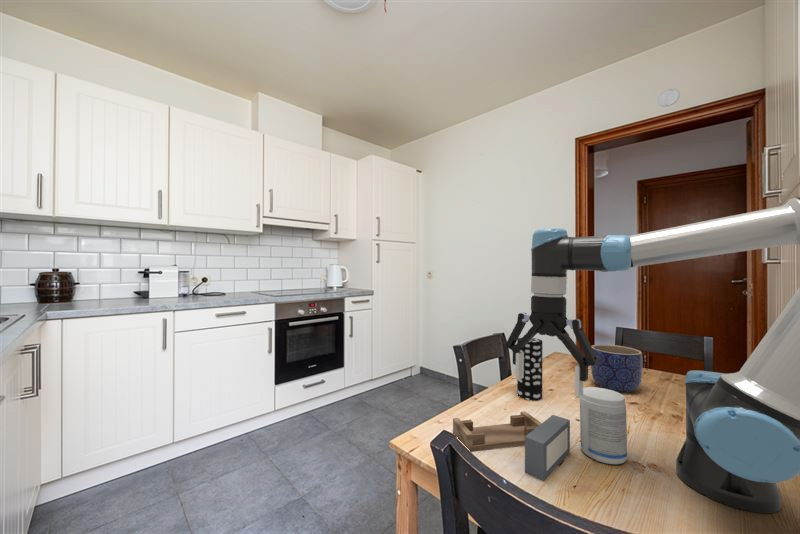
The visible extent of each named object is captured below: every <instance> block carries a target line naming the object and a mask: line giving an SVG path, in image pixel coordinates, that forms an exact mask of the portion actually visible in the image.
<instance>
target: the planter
mask: <svg viewBox="0 0 800 534" xmlns="http://www.w3.org/2000/svg"><path fill="white" fill-rule="evenodd" d="M591 347H592V349H593V351H594V353H595V355H596V357H597V359H598V363H597V364H595V365H593V366H590V373H591V376H592V377H591V378H592V379H593V381H594V382H595V383H596V384H597V385H598V386H599V387H600V388H604V389H608V390H612V391H615V392H618V393H625V394H626V393H633V392H635V391H636V390H638V389H639V388H640V387H641V385H642V381H643V352H642V351H641V350H639V349H637V348H634V347H633V348H632V347H630V346H629V347H628V346H624V345H617V344H615V345H614V344H593V345H592V344H591Z"/></svg>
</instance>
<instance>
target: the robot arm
mask: <svg viewBox="0 0 800 534" xmlns="http://www.w3.org/2000/svg"><path fill="white" fill-rule="evenodd" d="M531 241H532V242H531V249H530V251H531V284H530V293H531V294H533V295H532V296H531V297H530V311H531V312H530V314H529V313H528V314H527V312H520V313H518V314H517V320H516V323H515V325H514V327H513V329H512V332H511V333H510V335H509V337H508V339H507V341H506V342H505V345H504V346H505V348H506V349H509V350H511V352H512V365H514V366H515V380H516V381H517V380H520V379H522V378H524V352H522V351H521V352H520V350H522V348H523V347H524V346H525V345H526V344H527V343H528V342H529V341H530V340H531V339H532V338H535V336H536V335H537V334H539V335H541V336H549V337H553V338H554V337H557V339H558V340H559V341H561V343H562V345H564V347H565V348H566V349H567V351H568V352H569V353H570V354H571V356H572V357H573V358H574V359H575V361H576V362H577V364H576V365H575V366H574V373H575V374H574V396H575V397H578V398H580V396H581V395H582V394H583V388H584V382H587V381H588V379H589V366H590V367H591V366H593V365H595V364H597V363H598V359H597V357H596V355H595V353H594V351H593V349H592V347H591V346H592V344H591V342H590V341H589V339H588V337H587V335H586V333H585V331H584V329H583V321H582V319H580V318H576V319H568V318H567V298H566V297H565V295H567V277H568V276H567V272H568V271H589V272H591V271H595V272H602V273H607V272H608V273H609V272H618V271H619V272H622V271H623V272H624V271H629V269H631V268H636V267H643V266H649V265H650V266H651V265H657V264H664V263H671V262H678V261H685V260H692V259H699V258H705V257H712V256H719V255H726V254H734V253H741V252H747V251H755V250H761V249H768V248H774V247H776V248H777V247H782V246H789V245H795V246H797V247H800V196H799V197H798V196H797V197H793V198H789V199H788V200H787V201H786V202H785V204H783V205H779V206H776V207H774V206H773V207H769V208H764V209H759V210H753V211H750V212H746V213H745V212H744V213H740V214H734V215H729V216H724V217H719V218H714V219H713V218H712V219H708V220H703V221H698V222H694V223H688V224H683V225H679V226H673V227H667V228H662V229H658V230H657V229H656V230H653V231H647V232H643V233H637V234H633V235H625V234H623V235H622V234H617V235H616V234H607V235H592V236H576V237H575V236H569V234H568V232H567V230H566V229H564V228H541V229H537V230H536V231H534V232H533V234H532V239H531ZM528 322H530V323H531V325H532V326H531V327H530V328H529V329H528V331H526V333H525V334H524V335H523V336H522V337H520V335H521V334H522V332H523V330H524V328H525V326H526V324H527V323H528ZM567 326H569V328H570V329H571V330H572V331H573V334H574V336H575V338H576V340H577V342H578V345H579V346H580V348H581V349H580V348H579V346H578V345H577V344H576V343H575V341H574V340H573V339H572V337H570V334H569V332H568V331H567V330H566V329H565V328H566V327H567ZM518 338H521V339H520V340H519V342H518V343H517V340H518ZM684 385H685V412H686V413H685V418H686V419H685V420H686V421H685V425H686V426H685V427H686V428H685V430H686V432H685V435H686V436H685V440H684V442H683V444H682V447H681V449H680V451H679V453H678V455H677V457H676V460H675V473H676V476H678V478H679V479H680V480H681V482H684V484H685V485H687V486H688V487H690V488H692V489H693V491H696V492H698V493H699V494H701V495H703V496H705V497H707V498H709V499H712V500H713V501H715V502H719V503H722V504H724V505H726V506H730V507H733V508H735V509H739V510H743V511H747V512H753V513H759V514H773V513H776V512H778V511H781V509H782V494H781V491H780V489H779V487H778V484H777V483H783V482H787V481H789V480H792V479H794V478H795V477H796V476H798V475H799V474H800V286H799V287H798V288H797V290H796V291H795V293H794V294H793V296H792V297H791V298H790V300H789V301H788V303H786V305H785V307H784V308H783V310H782V311H781V313H780V314H779V315H778V316H777V318H776V320H774V322H773V323H772V325H771V326H770V328H769V329H768V331H767V332H766V333H765V335H764V336H763V337H762V339H761V340H760V342H759V343H758V345H757V346H755V349H754V350H753V351H752V353H751V354H750V355H749V357H748V358H747V360H746V361H745V362H744V364H743V365H742V367H740V370H739V371H736V372H733V373H732V372H730V373H722V372H716V371H707V370H697V369H696V370H693V369H692V370H689V371H687V373H686V374H685V380H684Z"/></svg>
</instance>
